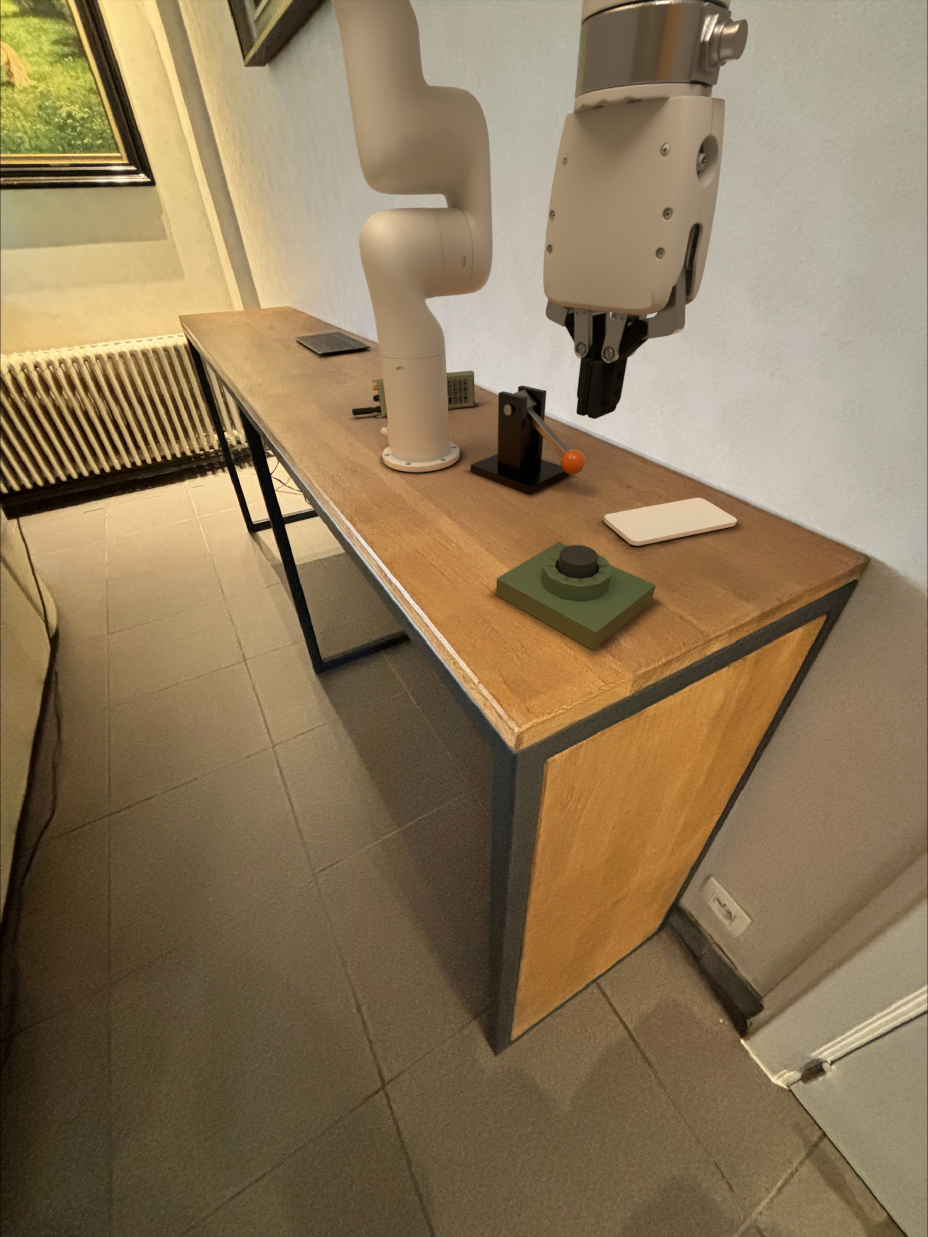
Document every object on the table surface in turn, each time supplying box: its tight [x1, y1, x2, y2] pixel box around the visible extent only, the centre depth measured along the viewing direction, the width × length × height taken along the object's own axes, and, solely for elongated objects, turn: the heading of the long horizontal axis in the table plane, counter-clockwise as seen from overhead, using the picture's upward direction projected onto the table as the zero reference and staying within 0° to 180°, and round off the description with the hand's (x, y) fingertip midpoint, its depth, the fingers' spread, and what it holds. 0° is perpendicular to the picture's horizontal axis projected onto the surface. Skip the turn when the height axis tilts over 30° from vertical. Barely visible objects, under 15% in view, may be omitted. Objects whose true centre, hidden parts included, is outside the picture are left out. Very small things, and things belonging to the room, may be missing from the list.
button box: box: [495, 541, 656, 651], centre depth 49 cm, size 12×10×4 cm
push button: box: [558, 544, 599, 579], centre depth 48 cm, size 4×4×2 cm
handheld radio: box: [351, 370, 476, 418], centre depth 99 cm, size 7×3×25 cm
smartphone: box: [603, 497, 738, 546], centre depth 62 cm, size 7×1×15 cm
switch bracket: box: [469, 385, 570, 496], centre depth 72 cm, size 12×9×12 cm
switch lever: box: [513, 390, 586, 475], centre depth 68 cm, size 14×3×3 cm, turn 44°
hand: (596, 412), depth 39 cm, fingers closed
